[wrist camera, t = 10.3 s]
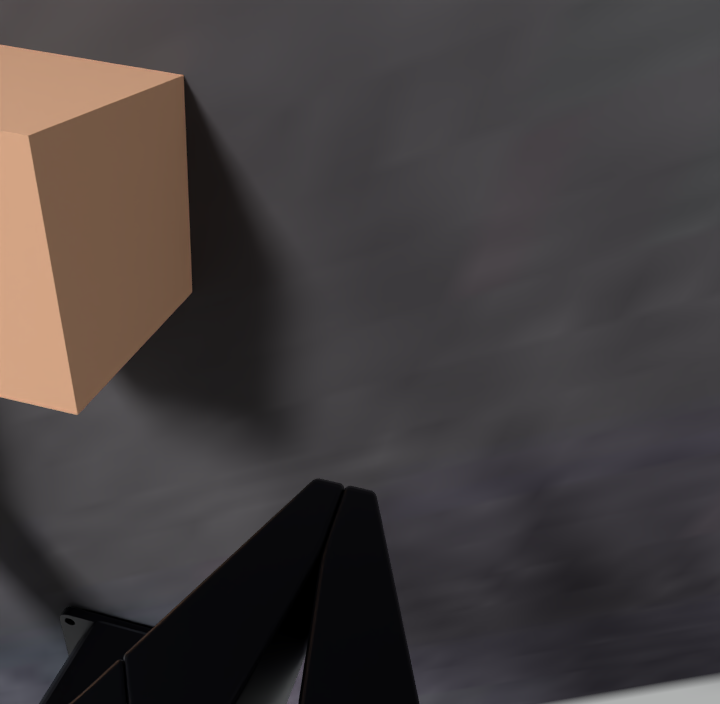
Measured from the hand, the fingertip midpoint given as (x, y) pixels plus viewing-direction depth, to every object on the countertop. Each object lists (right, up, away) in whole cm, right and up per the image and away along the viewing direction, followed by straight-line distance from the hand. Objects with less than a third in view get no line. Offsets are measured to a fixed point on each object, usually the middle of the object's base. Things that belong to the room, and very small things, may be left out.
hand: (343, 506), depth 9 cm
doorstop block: (-7, +7, +9) cm, 13 cm away
